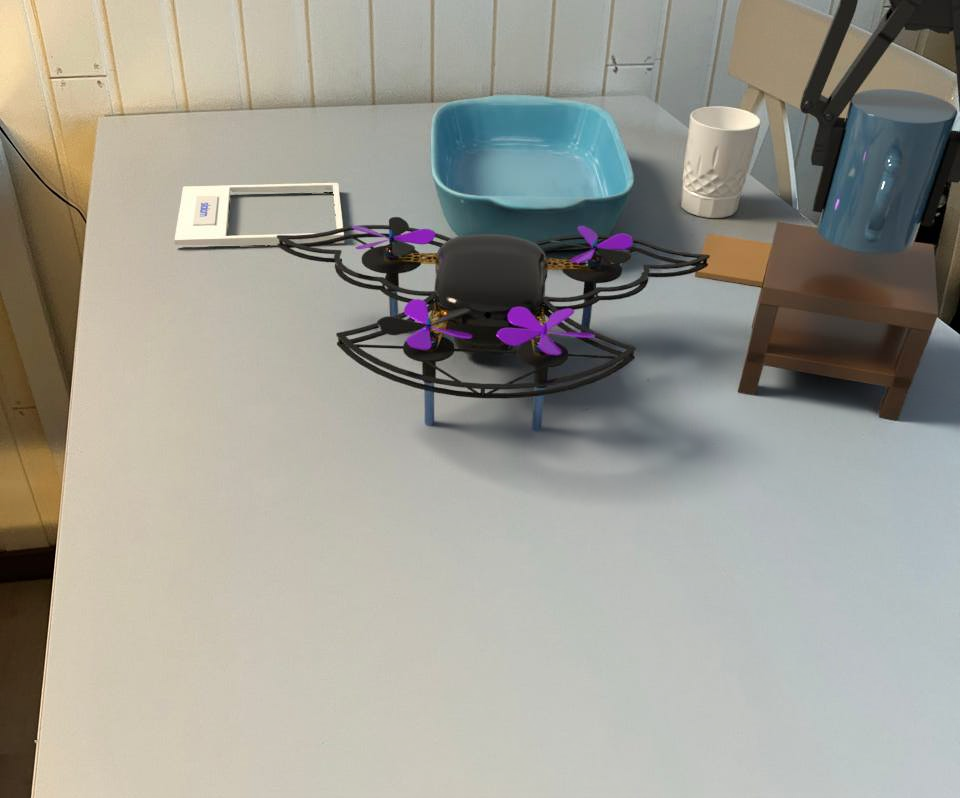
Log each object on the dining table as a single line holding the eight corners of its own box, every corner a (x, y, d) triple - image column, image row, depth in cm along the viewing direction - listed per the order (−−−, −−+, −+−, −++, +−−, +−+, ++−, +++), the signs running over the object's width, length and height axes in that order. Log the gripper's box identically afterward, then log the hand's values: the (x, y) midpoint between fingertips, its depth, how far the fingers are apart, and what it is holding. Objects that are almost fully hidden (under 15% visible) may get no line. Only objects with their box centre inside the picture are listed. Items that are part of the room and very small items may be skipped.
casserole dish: (431, 145, 130) (431, 86, 125) (600, 149, 131) (606, 90, 126) (429, 272, 104) (429, 203, 99) (639, 275, 105) (649, 207, 100)
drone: (709, 220, 92) (755, 378, 72) (690, 317, 99) (728, 485, 79) (281, 201, 92) (212, 352, 73) (292, 299, 99) (232, 462, 80)
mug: (913, 221, 86) (955, 95, 79) (915, 275, 78) (961, 141, 71) (819, 209, 87) (852, 84, 80) (812, 261, 80) (847, 128, 73)
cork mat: (795, 252, 110) (797, 247, 110) (789, 291, 104) (790, 285, 103) (706, 238, 112) (707, 233, 112) (694, 276, 106) (695, 270, 105)
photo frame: (183, 184, 115) (337, 181, 118) (184, 194, 116) (338, 190, 118) (174, 238, 105) (343, 233, 107) (176, 248, 106) (344, 243, 108)
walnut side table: (897, 345, 96) (934, 244, 89) (897, 420, 87) (938, 314, 80) (752, 321, 99) (777, 221, 92) (737, 392, 89) (763, 286, 82)
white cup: (729, 193, 122) (747, 105, 115) (750, 220, 116) (770, 129, 109) (667, 195, 121) (682, 106, 114) (685, 221, 115) (702, 130, 108)
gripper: (811, -133, 66) (740, 213, 82) (1152, -109, 62) (1006, 249, 78) (818, -148, 71) (750, 180, 87) (1132, -127, 67) (1000, 212, 83)
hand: (871, 212), depth 82 cm, fingers closed on mug, 8 cm apart
